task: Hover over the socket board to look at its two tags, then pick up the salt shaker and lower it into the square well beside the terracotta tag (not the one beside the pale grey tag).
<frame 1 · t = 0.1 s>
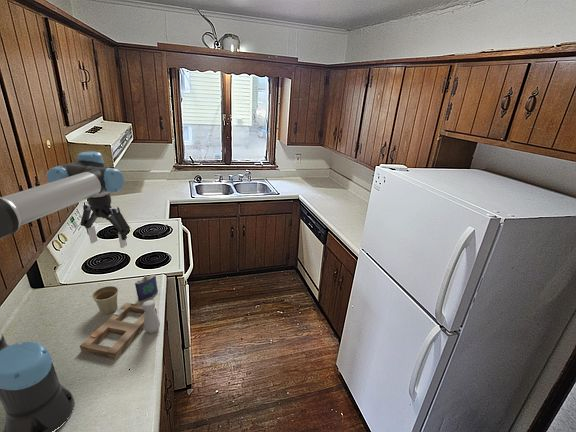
hand: (108, 244, 122), 28 cm above the worktop, fingers open, 13 cm apart
socket board: (122, 330, 117), on the worktop
salt shaker: (152, 330, 118), on the worktop
flower pot: (109, 310, 127), on the worktop
flask: (148, 296, 136), on the worktop
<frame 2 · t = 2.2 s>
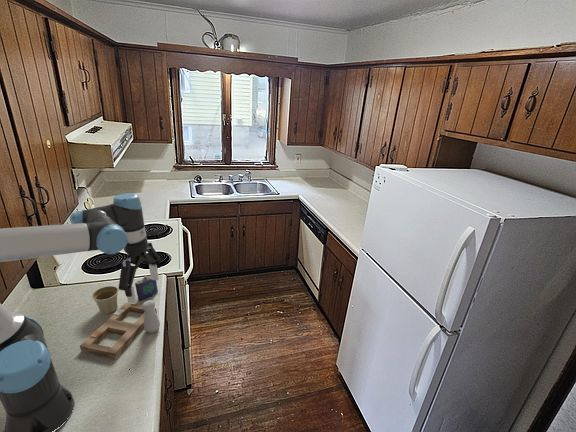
hand: (144, 290, 111), 18 cm above the worktop, fingers open, 13 cm apart
nothing on the worktop moved.
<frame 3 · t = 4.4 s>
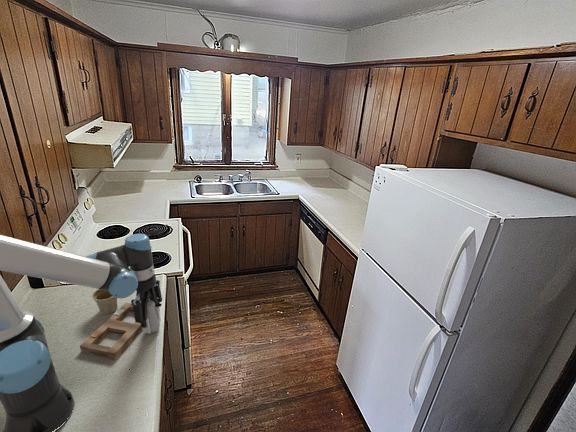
hand: (152, 326, 117), 2 cm above the worktop, fingers closed on salt shaker, 6 cm apart
salt shaker: (152, 330, 118), on the worktop, touching gripper
everything else where it was.
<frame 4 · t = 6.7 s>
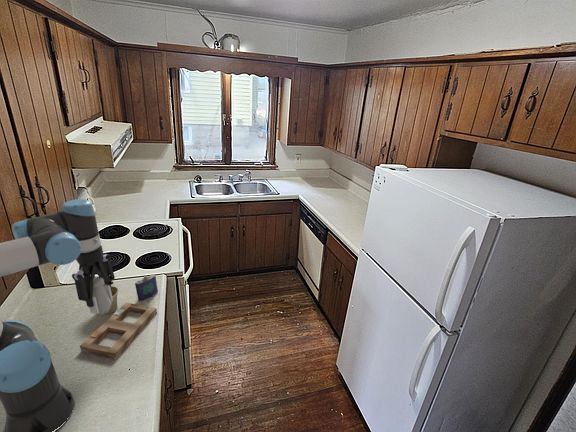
hand: (102, 306, 105), 16 cm above the worktop, fingers closed on salt shaker, 6 cm apart
salt shaker: (103, 311, 106), point 14 cm above the worktop, touching gripper
everything else where it was.
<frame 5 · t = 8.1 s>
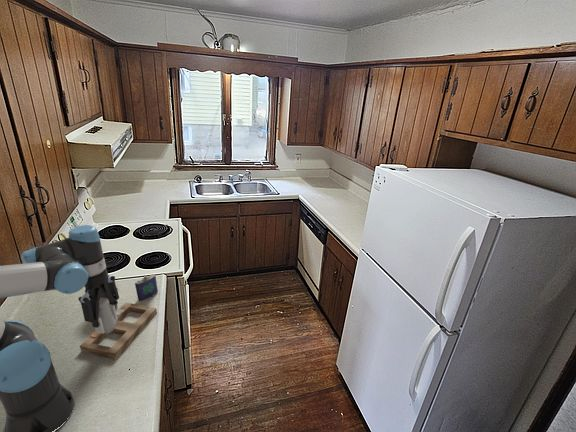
hand: (107, 325, 109), 8 cm above the worktop, fingers closed on salt shaker, 6 cm apart
salt shaker: (108, 329, 109), point 6 cm above the worktop, touching gripper
everything else where it was.
when the fingers open (4 cm above the worktop, at t = 9.1 s): salt shaker drops 2 cm, resting in socket board.
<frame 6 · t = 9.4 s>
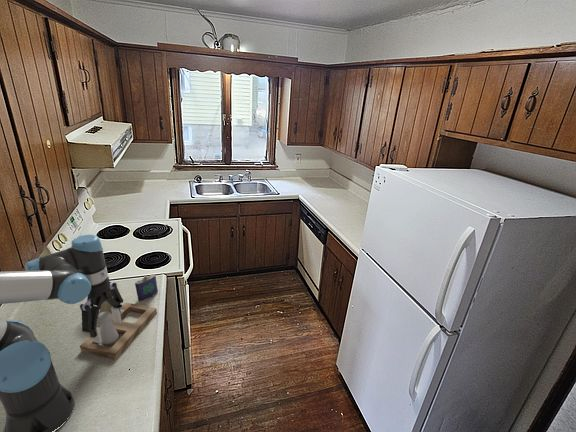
hand: (108, 331, 109), 5 cm above the worktop, fingers open, 9 cm apart
salt shaker: (110, 342, 111), resting in socket board
everything else where it was.
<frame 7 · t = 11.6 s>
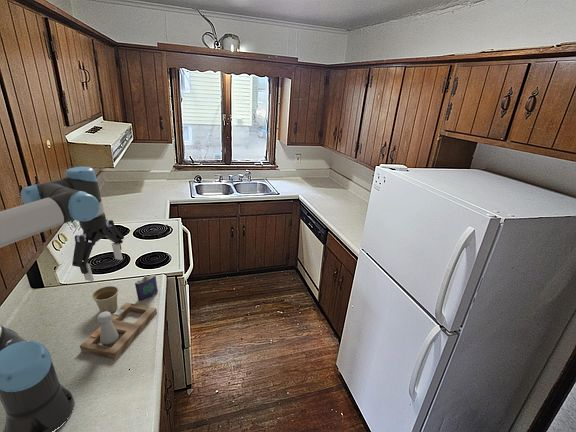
hand: (105, 269, 108), 27 cm above the worktop, fingers open, 13 cm apart
nothing on the worktop moved.
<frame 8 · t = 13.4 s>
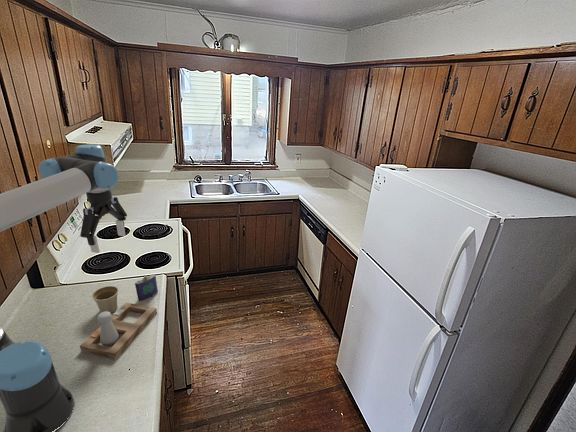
hand: (109, 243, 115), 32 cm above the worktop, fingers open, 13 cm apart
nothing on the worktop moved.
at the end: salt shaker 0.1 cm from the target spot on the socket board, point 0.0 cm above the socket board's base; salt shaker tilted 0°; the gripper is holding nothing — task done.
